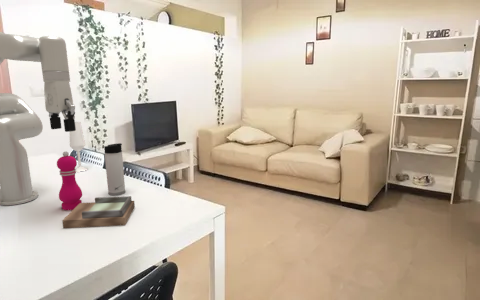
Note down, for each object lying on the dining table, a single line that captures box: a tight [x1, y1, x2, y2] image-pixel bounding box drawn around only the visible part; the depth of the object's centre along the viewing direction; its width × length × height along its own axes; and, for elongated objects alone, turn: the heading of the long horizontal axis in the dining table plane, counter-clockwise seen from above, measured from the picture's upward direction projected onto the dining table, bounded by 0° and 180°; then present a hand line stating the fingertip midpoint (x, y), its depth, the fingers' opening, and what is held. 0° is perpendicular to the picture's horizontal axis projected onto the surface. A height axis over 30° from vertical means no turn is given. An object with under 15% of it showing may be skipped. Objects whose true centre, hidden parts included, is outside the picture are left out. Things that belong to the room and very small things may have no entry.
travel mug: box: [103, 142, 126, 197], centre depth 123 cm, size 6×7×20 cm
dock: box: [61, 195, 135, 229], centre depth 102 cm, size 18×14×4 cm
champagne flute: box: [69, 121, 88, 173], centre depth 154 cm, size 7×7×24 cm
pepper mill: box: [56, 151, 83, 211], centre depth 109 cm, size 7×7×20 cm
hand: (63, 129), depth 105 cm, fingers open, 9 cm apart
